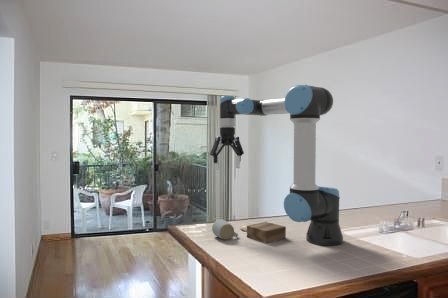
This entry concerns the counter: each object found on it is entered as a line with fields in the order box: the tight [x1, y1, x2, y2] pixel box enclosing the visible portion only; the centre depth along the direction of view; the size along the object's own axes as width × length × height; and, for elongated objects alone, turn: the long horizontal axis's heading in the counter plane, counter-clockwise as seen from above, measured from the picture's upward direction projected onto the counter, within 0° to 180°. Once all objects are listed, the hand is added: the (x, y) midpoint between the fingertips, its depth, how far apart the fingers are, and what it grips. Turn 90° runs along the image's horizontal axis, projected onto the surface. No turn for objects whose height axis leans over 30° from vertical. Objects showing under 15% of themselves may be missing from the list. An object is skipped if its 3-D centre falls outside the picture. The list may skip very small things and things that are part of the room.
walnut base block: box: [246, 221, 287, 244], centre depth 159 cm, size 12×12×5 cm
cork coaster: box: [240, 225, 248, 232], centre depth 174 cm, size 9×9×1 cm
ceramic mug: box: [211, 218, 239, 241], centre depth 159 cm, size 11×8×8 cm
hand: (227, 169), depth 184 cm, fingers open, 13 cm apart
